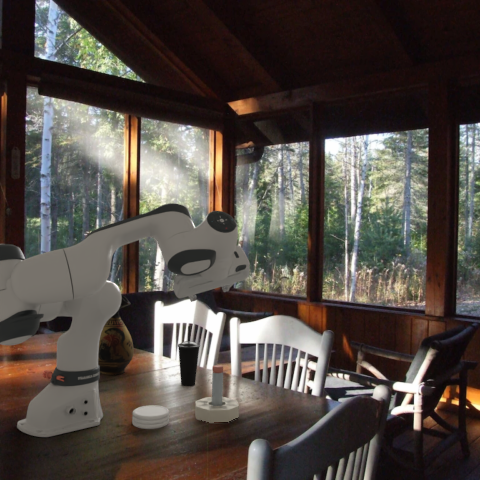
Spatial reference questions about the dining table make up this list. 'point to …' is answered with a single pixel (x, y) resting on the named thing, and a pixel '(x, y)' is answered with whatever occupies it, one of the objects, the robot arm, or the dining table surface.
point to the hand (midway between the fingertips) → (209, 294)
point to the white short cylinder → (150, 417)
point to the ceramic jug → (115, 345)
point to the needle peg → (217, 385)
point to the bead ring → (216, 410)
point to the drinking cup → (188, 361)
